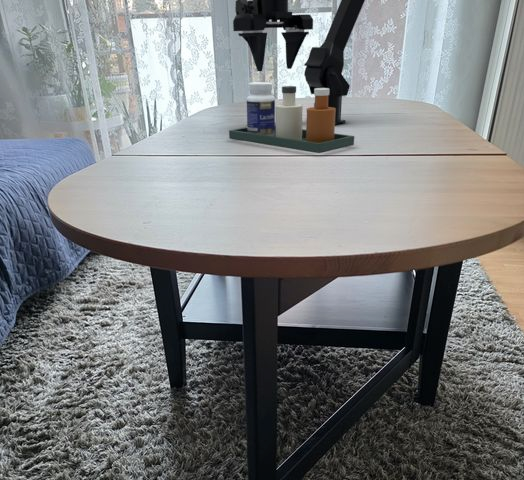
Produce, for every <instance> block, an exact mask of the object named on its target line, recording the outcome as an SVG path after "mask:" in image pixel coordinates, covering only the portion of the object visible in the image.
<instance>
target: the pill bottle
mask: <svg viewBox="0 0 524 480" xmlns="http://www.w3.org/2000/svg"><path fill="white" fill-rule="evenodd" d="M248 90H249V95H248V96H247V97H246V127H247V132H248V133H254V134H261V135H268V136H274V135H275V126H276V116H275V106H276V99H275V96H274V95H273V94H272V90H273V83H272V82H266V81H255V82H254V81H253V82H249V83H248Z"/></svg>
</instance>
